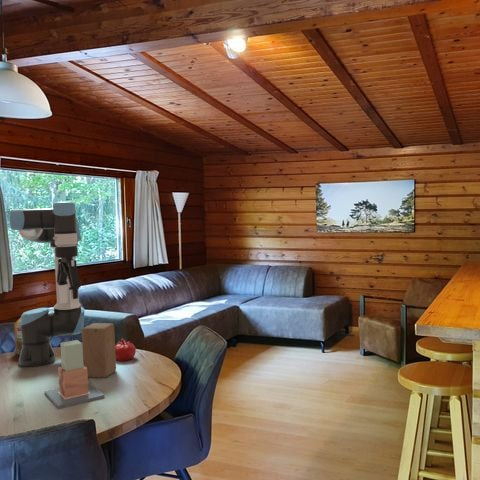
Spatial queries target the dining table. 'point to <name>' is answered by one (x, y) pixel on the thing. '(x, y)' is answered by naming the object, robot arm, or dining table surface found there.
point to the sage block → (71, 355)
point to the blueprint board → (64, 402)
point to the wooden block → (99, 349)
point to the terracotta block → (73, 382)
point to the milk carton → (18, 336)
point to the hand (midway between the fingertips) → (69, 305)
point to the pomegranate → (124, 351)
